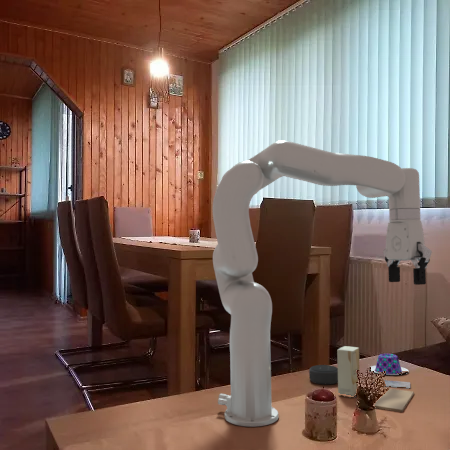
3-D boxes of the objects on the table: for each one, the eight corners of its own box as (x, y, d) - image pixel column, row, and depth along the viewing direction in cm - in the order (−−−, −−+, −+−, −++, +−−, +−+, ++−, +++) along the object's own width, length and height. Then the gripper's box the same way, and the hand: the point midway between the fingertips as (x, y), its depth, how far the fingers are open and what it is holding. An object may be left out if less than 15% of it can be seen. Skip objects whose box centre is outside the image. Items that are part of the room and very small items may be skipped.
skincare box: (353, 398, 123) (352, 351, 124) (337, 396, 126) (336, 349, 126) (361, 392, 129) (359, 346, 129) (345, 389, 131) (344, 345, 132)
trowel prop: (350, 383, 137) (350, 377, 137) (352, 379, 141) (352, 373, 141) (410, 388, 131) (410, 382, 131) (410, 383, 136) (410, 377, 136)
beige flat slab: (356, 405, 118) (356, 402, 118) (371, 388, 132) (371, 386, 132) (402, 412, 113) (402, 409, 113) (413, 393, 126) (413, 391, 126)
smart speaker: (303, 380, 141) (302, 367, 141) (324, 376, 146) (324, 362, 146) (324, 387, 134) (324, 373, 134) (346, 382, 139) (346, 368, 139)
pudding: (387, 379, 142) (387, 361, 142) (360, 370, 153) (360, 353, 153) (417, 374, 147) (416, 357, 147) (389, 365, 158) (388, 349, 158)
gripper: (372, 218, 129) (373, 281, 128) (415, 214, 113) (417, 286, 112) (395, 218, 132) (397, 280, 131) (441, 214, 115) (443, 285, 114)
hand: (406, 283), depth 121 cm, fingers open, 9 cm apart
